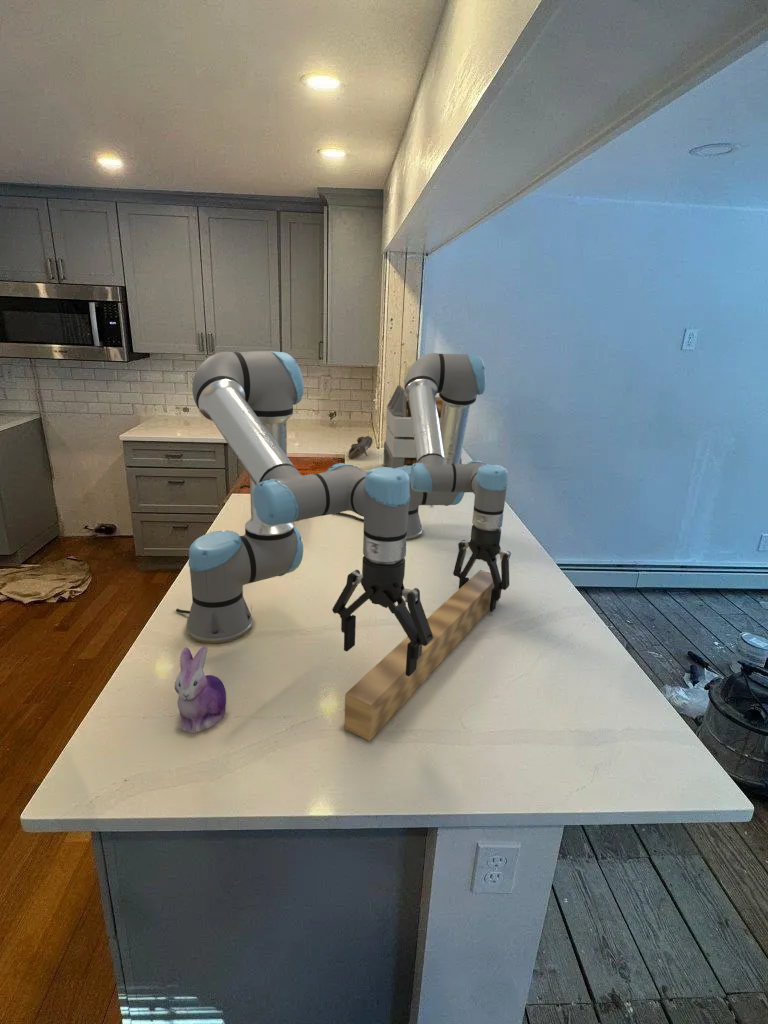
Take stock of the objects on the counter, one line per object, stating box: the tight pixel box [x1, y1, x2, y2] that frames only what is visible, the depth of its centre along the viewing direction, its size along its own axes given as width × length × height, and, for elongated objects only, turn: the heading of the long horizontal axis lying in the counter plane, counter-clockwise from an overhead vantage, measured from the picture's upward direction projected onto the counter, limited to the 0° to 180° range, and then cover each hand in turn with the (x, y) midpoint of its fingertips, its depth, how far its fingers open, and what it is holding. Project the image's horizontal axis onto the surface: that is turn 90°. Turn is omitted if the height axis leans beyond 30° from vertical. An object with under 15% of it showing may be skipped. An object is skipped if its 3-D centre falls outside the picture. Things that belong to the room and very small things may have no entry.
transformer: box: [383, 384, 463, 468], centre depth 268 cm, size 34×33×41 cm
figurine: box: [174, 645, 227, 734], centre depth 105 cm, size 9×10×15 cm
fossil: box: [347, 435, 373, 460], centre depth 301 cm, size 22×10×15 cm
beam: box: [343, 569, 494, 742], centre depth 130 cm, size 65×6×8 cm, turn 149°
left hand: (379, 659), depth 106 cm, fingers open, 13 cm apart
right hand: (477, 605), depth 152 cm, fingers open, 8 cm apart
